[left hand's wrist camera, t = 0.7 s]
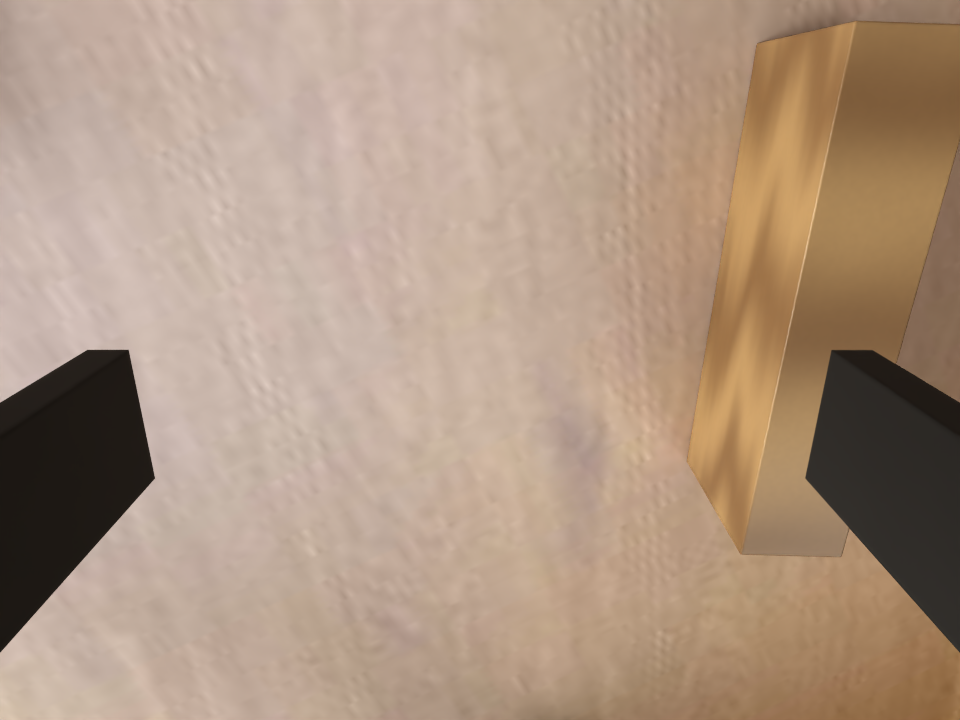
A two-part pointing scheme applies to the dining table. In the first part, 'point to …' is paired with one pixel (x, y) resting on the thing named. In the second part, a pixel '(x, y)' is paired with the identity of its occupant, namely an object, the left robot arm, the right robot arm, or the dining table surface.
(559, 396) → the dining table surface
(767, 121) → the bar
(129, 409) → the left robot arm
